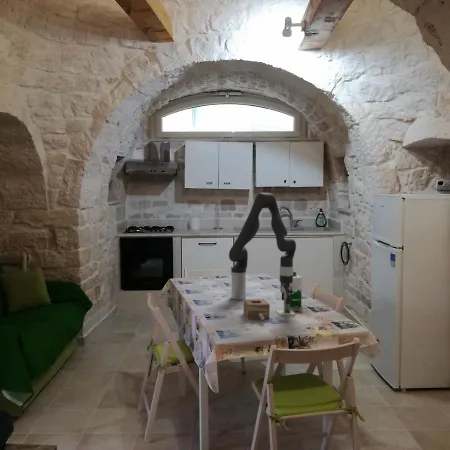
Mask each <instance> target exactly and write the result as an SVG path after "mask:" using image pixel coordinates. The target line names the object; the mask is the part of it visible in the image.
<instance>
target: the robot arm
mask: <svg viewBox="0 0 450 450" xmlns="http://www.w3.org/2000/svg"><path fill="white" fill-rule="evenodd" d="M263 209H268V210H269V212H270V215H271V220H270V221H271V222H270V225H271V229H272V231H273V233H274V236H275V240H276V247H277V249H278V250H279V251H280V252H281V253H285V254H284V255H281V256H280V262H279V263H280V264H279V265H280V266H279V282H280V289H279V290H280V293H281V300H282V301H284V293H285V294H286V304H290V297H292V286H291V287H290V283H292V282H293V272H294V263H293V262H294V257H295V253H296V250H297V243H296V240H294V239H292V238H285V237H286V236H287V235H288V231H287V228H286V227H285V224H284V222H283V220H282V217H281V213H280V211H279V206H278V203H277V199H276V197H275V195H274V194H273V193H271V192H259V193H257V195H256V196H255V199H254V200H253V203H252V206H251V209H250V212H249V214H248V216H247V218H246V220H245V222H244V224H243V225H242V228H241V230H240V232H239V234H238V236H237V238H236V240H235V241H234V243H233V245H232V246H231V248H230V250H229V252H228V258H229V260H230V261H231V262H233V263H236V264H235V265H233V266H232V267H231V292H230V293H231V297H230V298H231V299H232V300H246V299H247V298H246V297H247V296H246V293H247V292H246V291H247V288H246V286H247V285H246V284H247V267H248V258H249V257H248V254H249V253H248V251H247V248H246V247H245V246H246V245H247V244H248V243H249V242H251V241H252V240H253V239H254V238H255V237H256V235H257V233H258V231H259V230H260V219H259V218H260V215H261V211H262V210H263ZM283 289H284V292H283ZM288 294H289V295H288Z"/></svg>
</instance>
